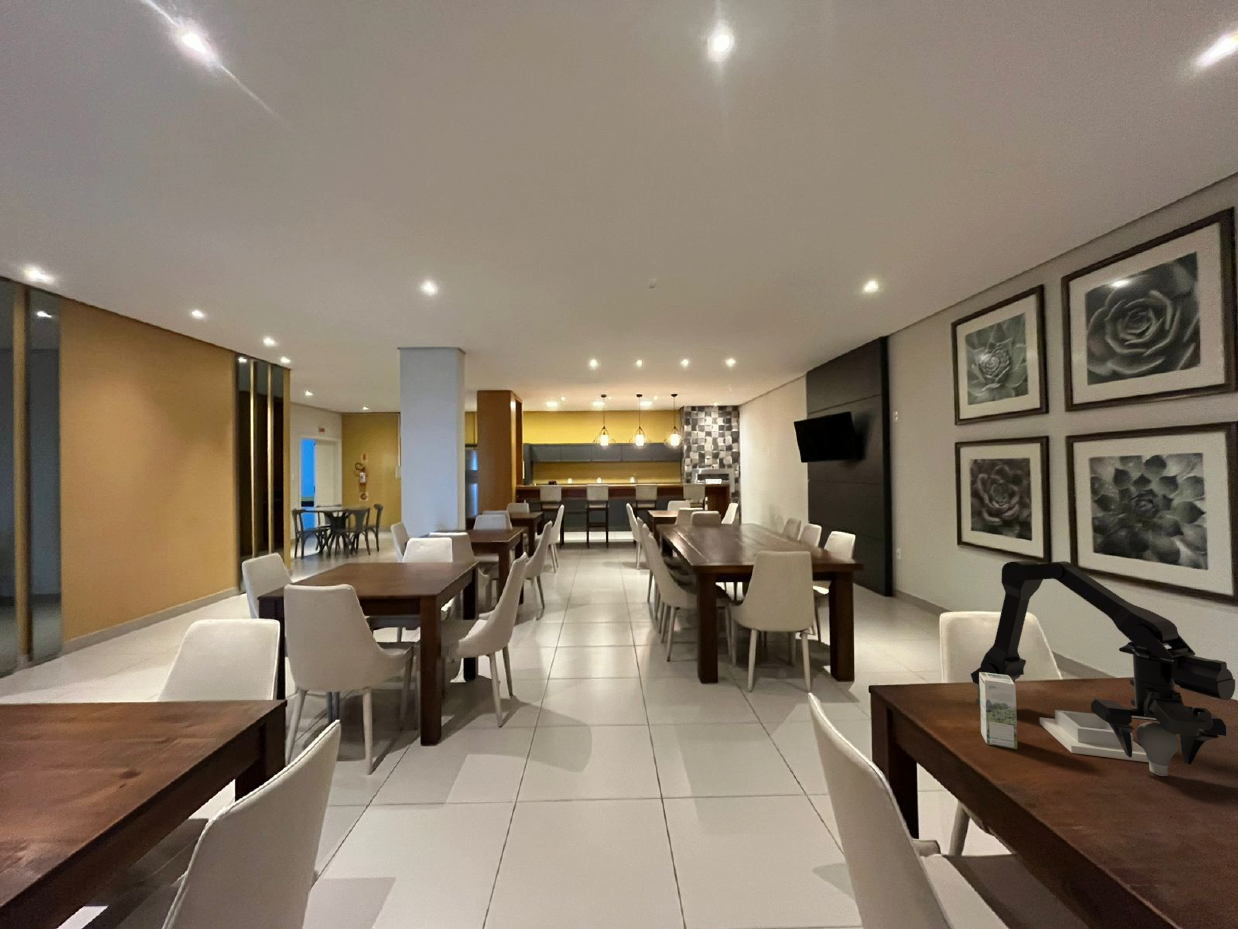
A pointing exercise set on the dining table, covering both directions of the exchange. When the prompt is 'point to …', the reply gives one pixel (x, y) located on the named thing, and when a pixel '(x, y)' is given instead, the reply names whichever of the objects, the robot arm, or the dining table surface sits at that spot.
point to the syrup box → (998, 710)
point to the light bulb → (1157, 746)
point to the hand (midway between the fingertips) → (1157, 760)
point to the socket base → (1089, 735)
